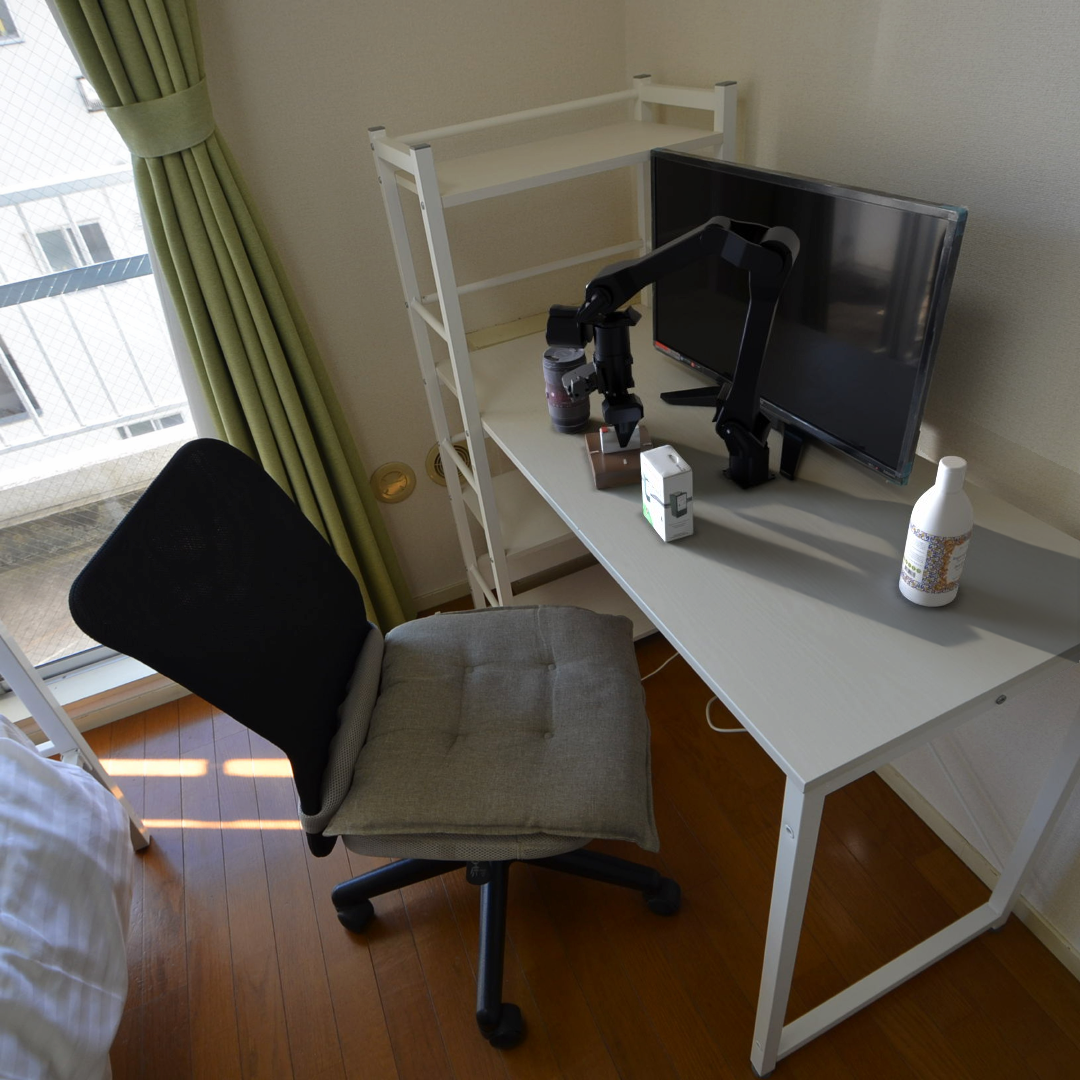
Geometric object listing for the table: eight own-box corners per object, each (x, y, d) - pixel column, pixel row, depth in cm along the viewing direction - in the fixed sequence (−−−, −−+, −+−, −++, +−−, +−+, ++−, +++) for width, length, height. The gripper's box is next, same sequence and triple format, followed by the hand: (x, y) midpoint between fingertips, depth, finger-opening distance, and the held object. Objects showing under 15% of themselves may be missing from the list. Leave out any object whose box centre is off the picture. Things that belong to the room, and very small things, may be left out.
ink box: (642, 514, 128) (638, 450, 121) (670, 505, 129) (668, 442, 122) (664, 543, 121) (662, 477, 114) (694, 534, 122) (693, 468, 115)
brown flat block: (660, 479, 135) (660, 463, 134) (596, 489, 136) (594, 473, 134) (645, 439, 147) (644, 424, 145) (586, 448, 147) (584, 433, 145)
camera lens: (571, 439, 150) (562, 365, 141) (542, 427, 155) (532, 355, 146) (601, 422, 154) (594, 349, 145) (572, 411, 159) (564, 339, 150)
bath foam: (934, 616, 102) (963, 484, 90) (887, 590, 107) (908, 462, 95) (967, 591, 105) (999, 461, 93) (919, 567, 110) (944, 440, 98)
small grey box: (638, 443, 140) (637, 421, 138) (640, 448, 139) (639, 426, 136) (601, 448, 140) (599, 427, 138) (603, 453, 139) (601, 432, 136)
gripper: (557, 334, 136) (567, 416, 145) (568, 381, 121) (578, 469, 130) (622, 324, 136) (627, 406, 145) (642, 370, 121) (646, 458, 130)
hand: (619, 434), depth 138 cm, fingers open, 9 cm apart
